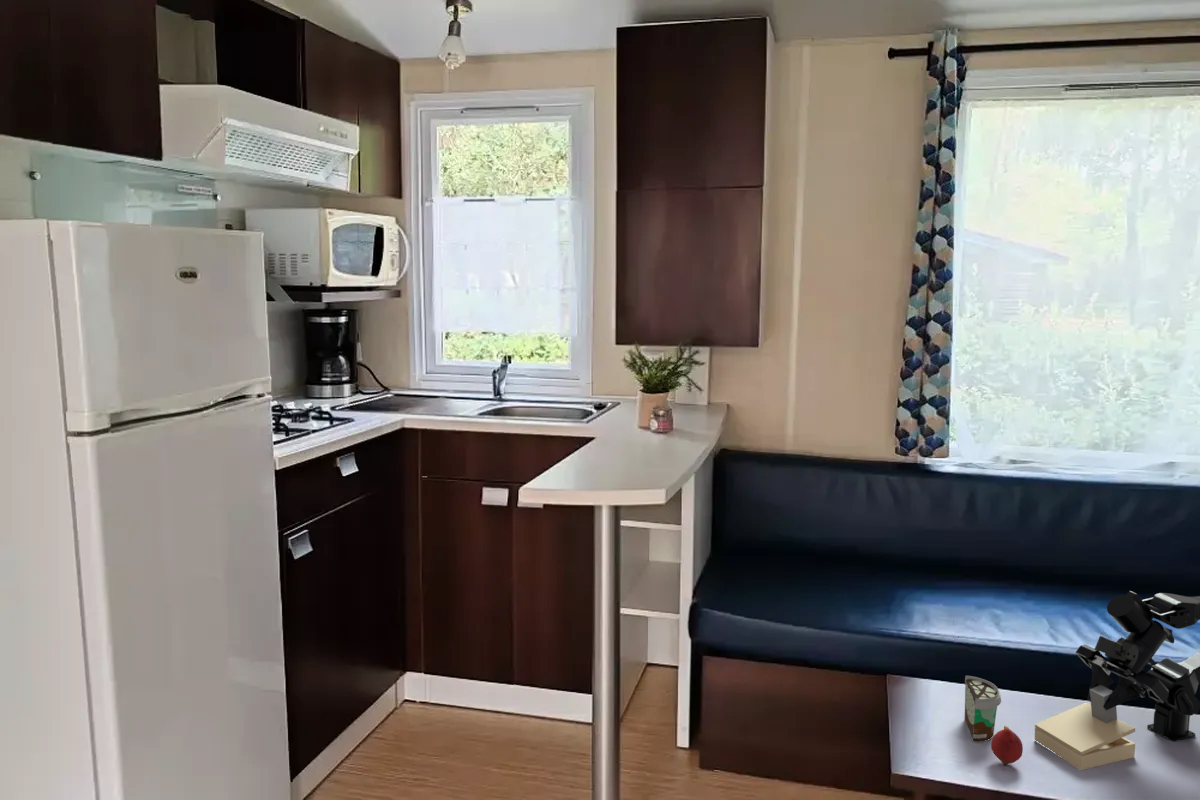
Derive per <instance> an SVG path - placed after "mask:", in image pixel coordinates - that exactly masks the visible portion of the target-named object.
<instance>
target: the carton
mask: <svg viewBox="0 0 1200 800" xmlns="http://www.w3.org/2000/svg"><path fill="white" fill-rule="evenodd" d="M1034 739H1035V740H1036V741H1038V742H1039V743H1041V744H1042V745H1044V746H1045V747H1047V748H1049V749H1050V750H1052V751H1053V752H1055V753H1056V754H1057V755H1059V756H1061V757H1062V758H1063V759H1065V760H1066V761H1065V760H1064V761H1065V762H1067V761H1068V762H1069V763H1068V762H1067V763H1068V764H1070V765H1071V764H1072V765H1071V766H1073V767H1075V768H1076V767H1077V768H1076V769H1078V770H1079V769H1080V770H1079V771H1083V770H1088V769H1092V768H1096V767H1100V766H1104V765H1109V764H1112V763H1117V762H1121V761H1126V760H1129V759H1133V758H1135V753H1136V743H1135V742H1133V741H1132V740H1129V739H1128V738H1126V737H1125V736H1124V737H1122V738H1120V739H1118V740H1115V741H1113V742H1111V743H1109V744H1107V745H1104V746H1102V747H1100V748H1098V749H1095V750H1093V751H1091V752H1089V753H1086V754H1084V755H1082V756H1081V755H1080V754H1078V753H1076V752H1075V751H1073V750H1071V749H1070V748H1068V747H1066V746H1065V745H1063V744H1061V743H1060V742H1058V741H1056V740H1055V739H1053V738H1051V737H1050V736H1048V735H1046V734H1045V733H1043V732H1042V731H1040V730H1038V729H1037V728H1035V727H1034ZM1057 755H1056V756H1057ZM1059 756H1058V757H1059ZM1062 758H1061V759H1062ZM1063 759H1062V760H1063Z"/></svg>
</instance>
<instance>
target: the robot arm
mask: <svg viewBox="0 0 1200 800" xmlns="http://www.w3.org/2000/svg"><path fill="white" fill-rule="evenodd" d="M1106 611H1107V613H1108V614H1109V616H1111V618H1112V619H1114V620H1115V622H1116V623H1118V625H1119V626H1120V627H1121V628H1122V629H1123V630H1124V631H1125V632H1127V633H1129V634H1128V635H1127V636H1126V638H1124V637H1119V638H1118V639H1117V640H1116V641H1115V640H1112V639H1110V638H1107V637H1105V636H1103V635H1099V638H1098V639H1097V642H1096V644H1095V646H1094V647H1092V646H1090V645H1087V644H1081V645H1080V646H1079V647H1078V648H1077V649H1076V650H1075V651H1074V653H1075V654H1076V655H1077V657H1078V658H1080V659H1081V661H1082V662H1083V663H1084V664H1085V665H1086V666H1087V667H1089V668H1090V669H1091V671H1092V677H1091V683H1090V686H1089V691H1088V695H1087V700H1088V701H1089V702H1090V703H1091V698H1090V689H1092V688H1094V687H1097V686H1099V685H1102V686H1104V687H1106V688H1109V686H1111V685H1112V684H1113V683H1114V680H1113V678H1111V676H1110V675H1111V673H1112V674H1115V675H1117V676H1118V680H1117V685H1116V687H1115V688H1114V690H1112V691H1113V692H1112V693H1111V695H1110V696H1109V697H1108V699H1107V700H1106V702H1105V704H1104V706H1103V708H1104V709H1105V710H1108V709H1111V708H1113V707H1115V706H1116V707H1117V706H1120V705H1122V704H1125V703H1126V702H1128V701H1131V700H1135V699H1138V698H1145V697H1146V695H1145V693H1146V691H1147V695H1148V698H1150V699H1153V700H1154V701H1156V702H1157V703H1155V707H1154V709H1155V710H1154V712H1153V723H1151V724H1147V726H1146V728H1147V729H1150V730H1151V731H1153V732H1155V733H1157V734H1159V736H1160V735H1161V736H1162V737H1165V738H1167V739H1168V740H1170V741H1172V742H1177V741H1180V740H1185V739H1190V738H1193V737H1195V736H1196V733H1195V732H1193V731H1192V730H1189V729H1190V721H1191V719H1190V717H1191V716H1193V715H1194V714H1198V713H1199V712H1200V700H1199V699H1198V698H1197V697H1196V696H1195V695H1196V693H1197V690H1198V688H1199V687H1198V686H1199V685H1200V651H1198V652H1197V653H1194V654H1193V655H1191V656H1190V657H1188V658H1186V659H1184V660H1183V661H1180V662H1177V661H1174V660H1172V659H1170V658H1168V657H1167V658H1164V659H1162V660H1161V661H1159V662H1158V663H1156V664H1155V660H1154V659H1153V657H1154V655H1155V654H1156V653H1157V652H1158V650H1160V648H1161V646H1162V645H1163V643H1164V642H1168V643H1170V644H1174V643H1175V638H1174V636H1173V635H1174V634H1173V629H1171V628H1167V627H1165V626H1164V625H1163V624H1165V625H1168V626H1170V627H1172V628H1174V629H1177V630H1181V629H1185V628H1187V627H1188V628H1189V627H1192V626H1194V625H1196V624H1197V622H1199V621H1200V596H1199V595H1198V596H1185V595H1179V594H1177V593H1176V594H1174V593H1168V592H1159V593H1156V594H1154V595H1153V597H1149V598H1145V599H1142V597H1141V596H1140V595H1139V594H1138V593H1136V592H1134V591H1131V590H1129V591H1128V592H1127V593H1126V594H1120V595H1117V596H1114V597H1113V598H1111V599H1110V601H1109V602H1108V604H1107V606H1106ZM1153 619H1155V620H1153ZM1159 621H1160V622H1159ZM1161 623H1163V624H1161ZM1101 652H1102V653H1103V654H1104V655H1103V654H1102V653H1101ZM1108 659H1109V660H1108ZM1147 665H1150V669H1149V670H1148V671H1147V672H1146V671H1144V669H1145V668H1146V667H1147Z"/></svg>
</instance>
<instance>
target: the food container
mask: <svg viewBox="0 0 1200 800" xmlns="http://www.w3.org/2000/svg"><path fill="white" fill-rule="evenodd" d="M964 685H965V686H964V687H965V688H964V692H965V693H964V722H965V725H966V728H967V731H968V730H969V731H968V733H969V736H970V735H971V736H970V738H971V741H972V742H973V741H974V742H976V743H977V742H978V743H979V742H980V741H981V742H986V741H985V740H987V741H989V740H988V739H990V738H991V737H992V736H994V735H995V734H994V732H995V726H996V718H997V717H996V716H997V710H998V706H1000V705H1001V703H1002V697H1001V693H1000V690H999V688H998V686H996V685H995V683H992V682H991V681H988V680H986V679H983V678H981V677H977V676H972V675H965V678H964ZM992 738H993V737H992ZM992 738H991V739H992ZM991 739H990V740H991ZM981 742H980V743H981Z"/></svg>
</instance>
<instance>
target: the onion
mask: <svg viewBox="0 0 1200 800" xmlns="http://www.w3.org/2000/svg"><path fill="white" fill-rule="evenodd" d="M990 742H991V743H990V747H991V748H990V749H991V751H992V753H993V754H994V756H995V757H996V758H997V759H998V760H999V761H1000V762H1001V763H1002V764H1003V763H1005V764H1004V765H1006V764H1007V765H1011V764H1013V763H1015V762H1017V761H1019V760H1020V759H1021V757H1022V756H1023V753H1024V752H1023V751H1024V748H1023V743H1022V740H1021V739H1020V737H1019V736H1018V734H1016V733H1015V732H1014V731H1012V730H1011V729H1010V727H1009V726H1008V725H1004V726H1003V729H1001V730H999V731H997V732H996V733H995V734H993V737H992V738H991V741H990Z"/></svg>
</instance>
